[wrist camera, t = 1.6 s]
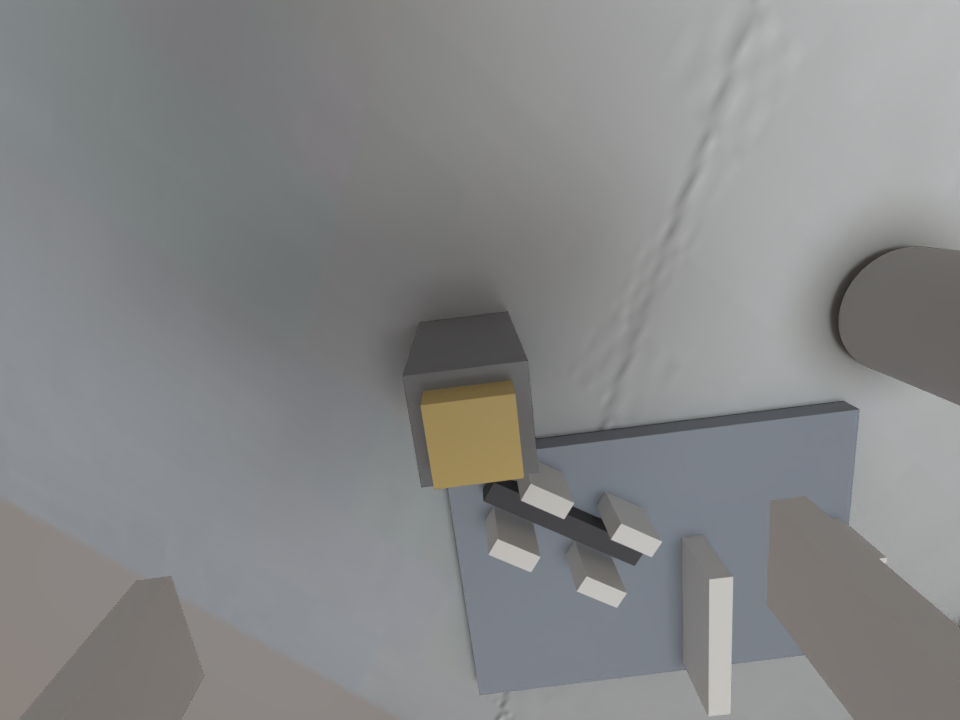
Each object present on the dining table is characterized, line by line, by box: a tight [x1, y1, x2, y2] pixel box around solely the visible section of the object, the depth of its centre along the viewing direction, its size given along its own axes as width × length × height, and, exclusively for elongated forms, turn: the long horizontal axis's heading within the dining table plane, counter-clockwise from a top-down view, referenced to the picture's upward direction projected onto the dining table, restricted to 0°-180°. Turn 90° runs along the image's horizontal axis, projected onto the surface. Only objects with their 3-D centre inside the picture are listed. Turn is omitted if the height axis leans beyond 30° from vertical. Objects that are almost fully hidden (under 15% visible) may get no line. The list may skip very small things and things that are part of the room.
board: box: [448, 401, 860, 695], centre depth 30 cm, size 16×22×4 cm
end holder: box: [682, 518, 887, 716], centre depth 30 cm, size 9×9×4 cm
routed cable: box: [483, 480, 643, 566], centre depth 29 cm, size 9×1×1 cm, turn 63°
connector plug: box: [402, 311, 539, 489], centre depth 23 cm, size 4×4×10 cm
